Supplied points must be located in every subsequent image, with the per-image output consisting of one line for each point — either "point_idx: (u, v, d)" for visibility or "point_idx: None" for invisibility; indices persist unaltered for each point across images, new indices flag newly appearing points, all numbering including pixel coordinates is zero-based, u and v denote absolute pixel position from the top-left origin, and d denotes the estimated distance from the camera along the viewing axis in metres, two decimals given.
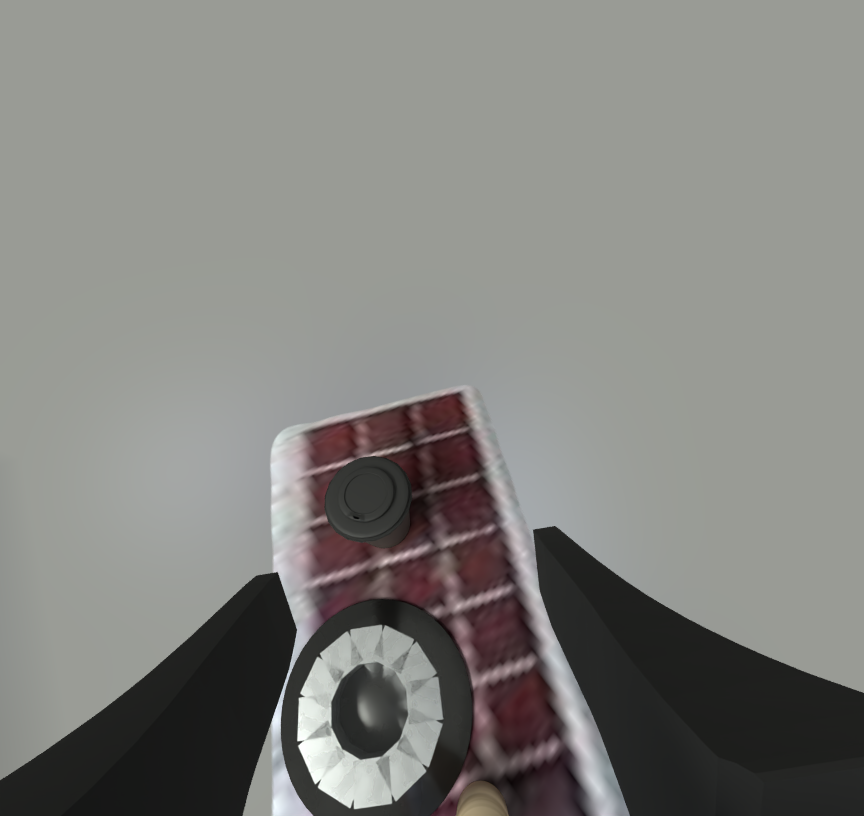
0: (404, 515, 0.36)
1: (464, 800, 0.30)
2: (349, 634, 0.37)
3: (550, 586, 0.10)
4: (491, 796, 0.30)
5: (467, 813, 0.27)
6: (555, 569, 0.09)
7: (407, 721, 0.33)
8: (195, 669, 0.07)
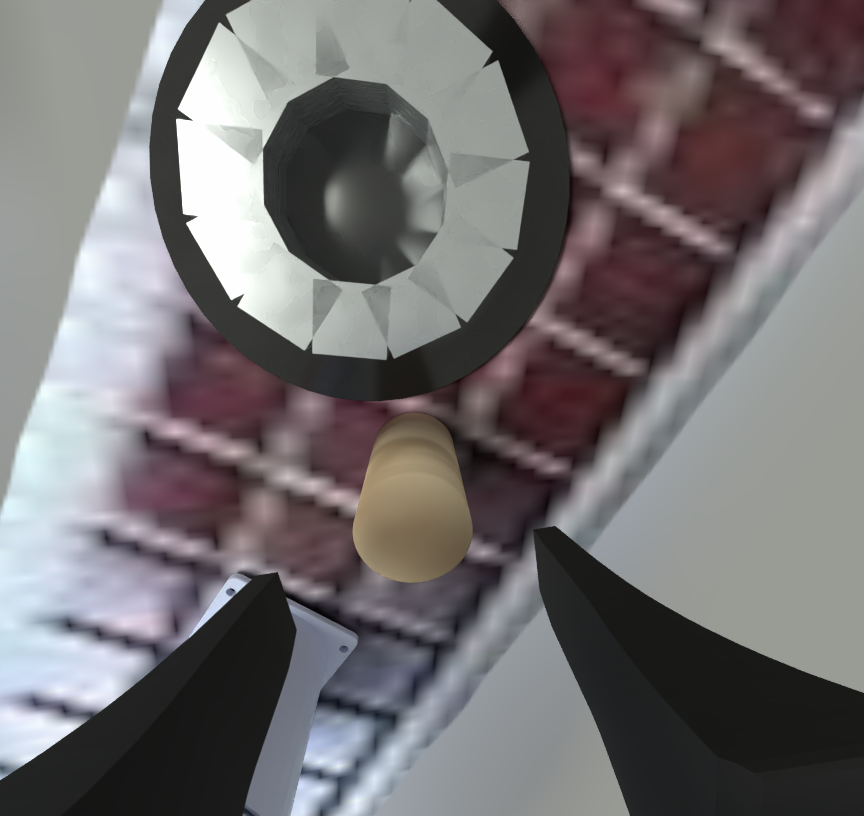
0: None
1: (415, 437, 0.16)
2: None
3: (550, 586, 0.10)
4: (456, 464, 0.17)
5: (426, 479, 0.13)
6: (555, 569, 0.09)
7: (408, 272, 0.15)
8: (195, 669, 0.07)
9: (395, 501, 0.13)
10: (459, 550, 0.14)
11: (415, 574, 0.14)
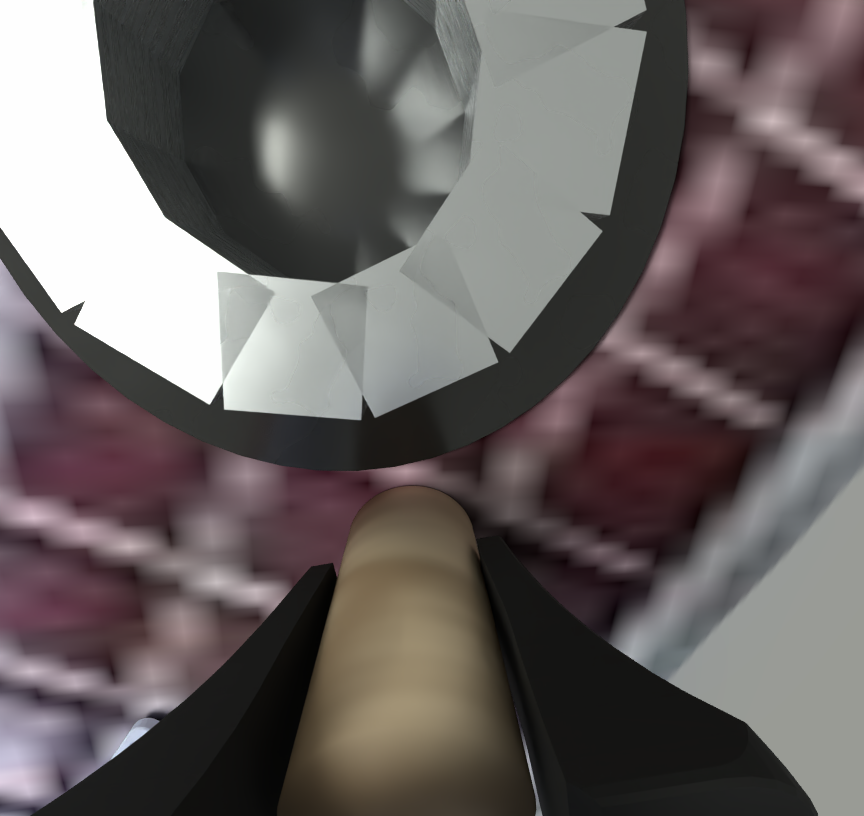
0: None
1: (413, 557, 0.09)
2: None
3: None
4: (487, 602, 0.09)
5: (436, 723, 0.06)
6: (489, 580, 0.09)
7: (400, 258, 0.08)
8: (275, 656, 0.07)
9: (367, 767, 0.06)
10: None
11: None
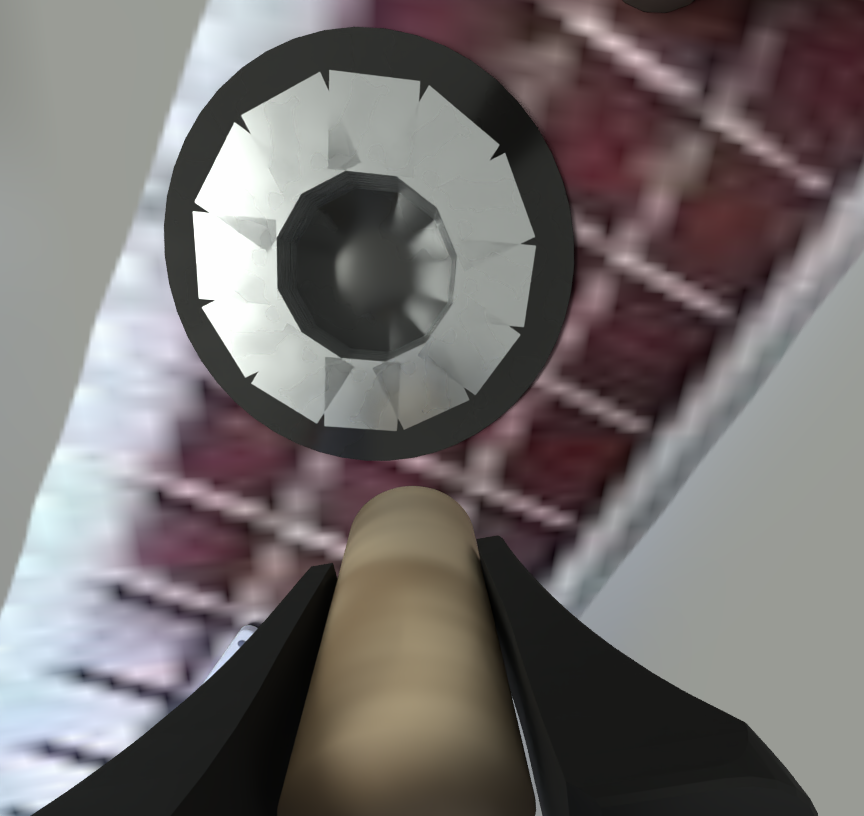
0: None
1: (413, 557, 0.09)
2: (418, 95, 0.13)
3: None
4: (487, 603, 0.09)
5: (435, 724, 0.06)
6: (489, 580, 0.09)
7: (418, 349, 0.15)
8: (275, 656, 0.07)
9: (367, 768, 0.06)
10: None
11: None
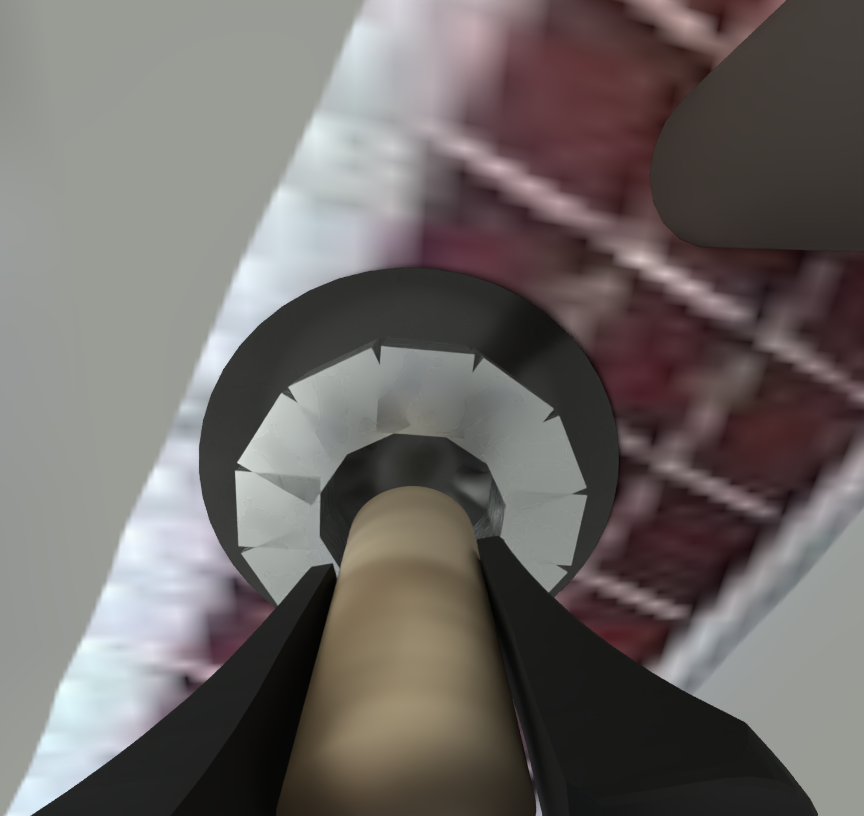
0: None
1: (413, 557, 0.09)
2: None
3: None
4: (487, 603, 0.09)
5: (435, 725, 0.06)
6: (489, 580, 0.09)
7: None
8: (275, 656, 0.07)
9: (367, 769, 0.06)
10: None
11: None
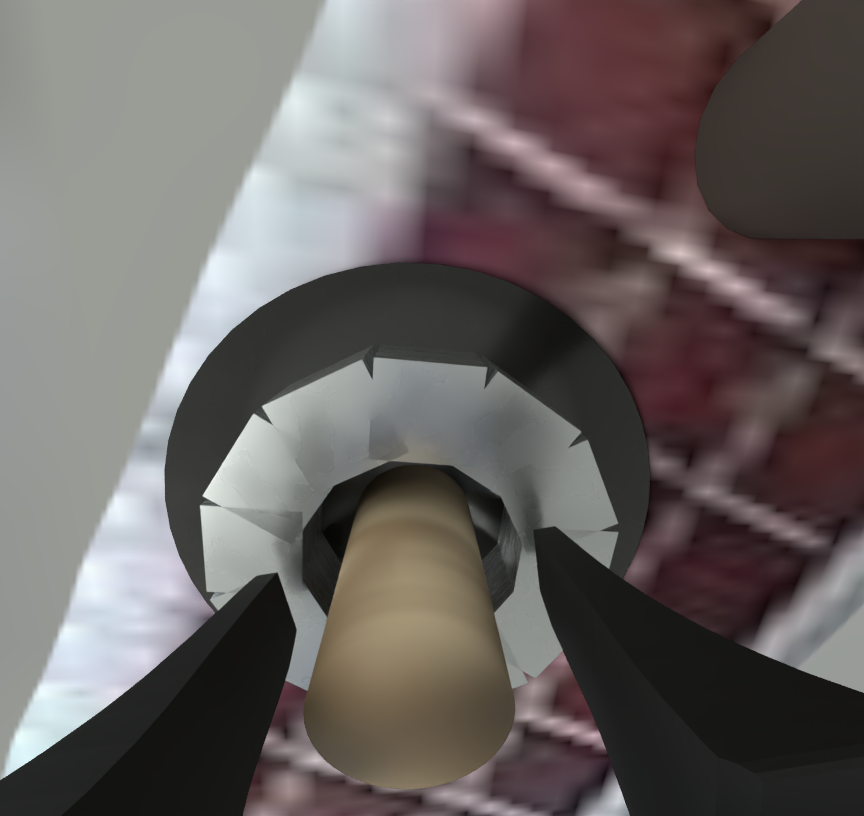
0: None
1: (414, 518, 0.11)
2: None
3: (550, 586, 0.10)
4: (478, 558, 0.11)
5: (433, 630, 0.07)
6: (555, 569, 0.09)
7: None
8: (195, 669, 0.07)
9: (378, 668, 0.07)
10: (491, 740, 0.08)
11: (415, 777, 0.08)
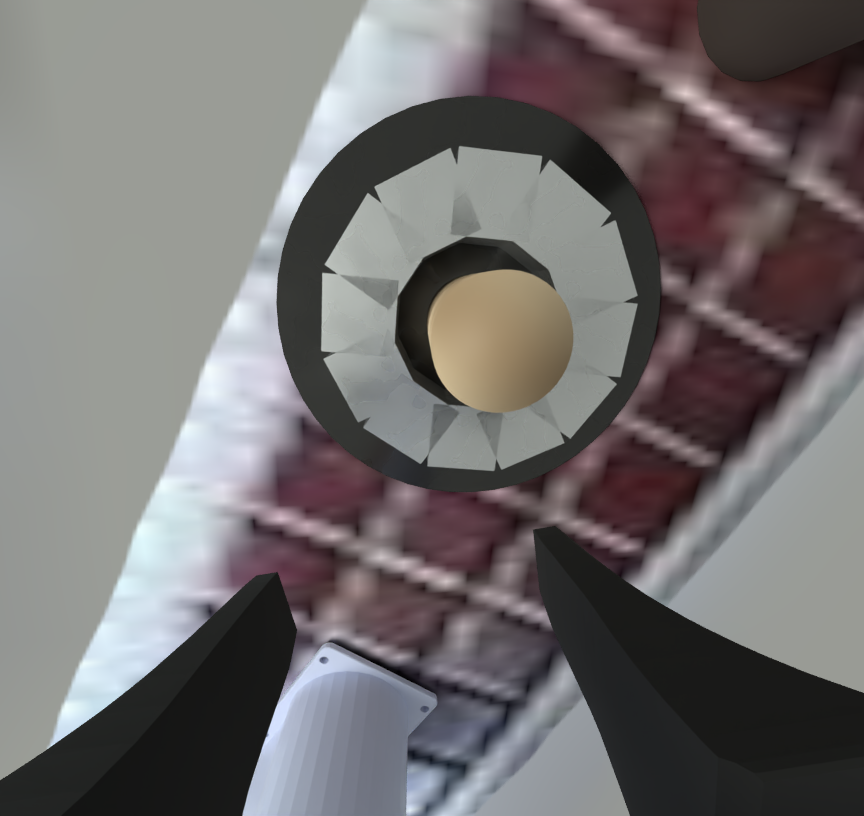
0: None
1: None
2: None
3: (550, 586, 0.10)
4: None
5: (521, 272, 0.11)
6: (555, 569, 0.09)
7: None
8: (195, 669, 0.07)
9: (483, 300, 0.11)
10: (556, 369, 0.12)
11: (502, 402, 0.12)
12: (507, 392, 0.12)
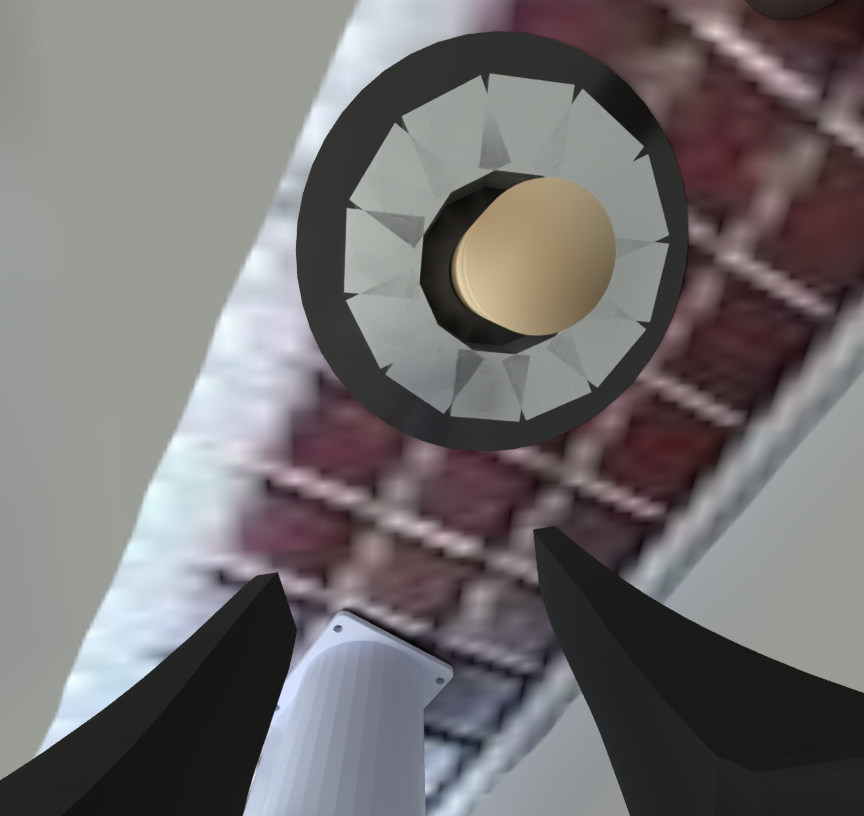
0: None
1: None
2: None
3: (550, 586, 0.10)
4: None
5: (563, 181, 0.10)
6: (555, 569, 0.09)
7: (547, 342, 0.16)
8: (195, 669, 0.07)
9: (524, 211, 0.11)
10: (597, 288, 0.11)
11: (540, 323, 0.11)
12: (546, 313, 0.11)
